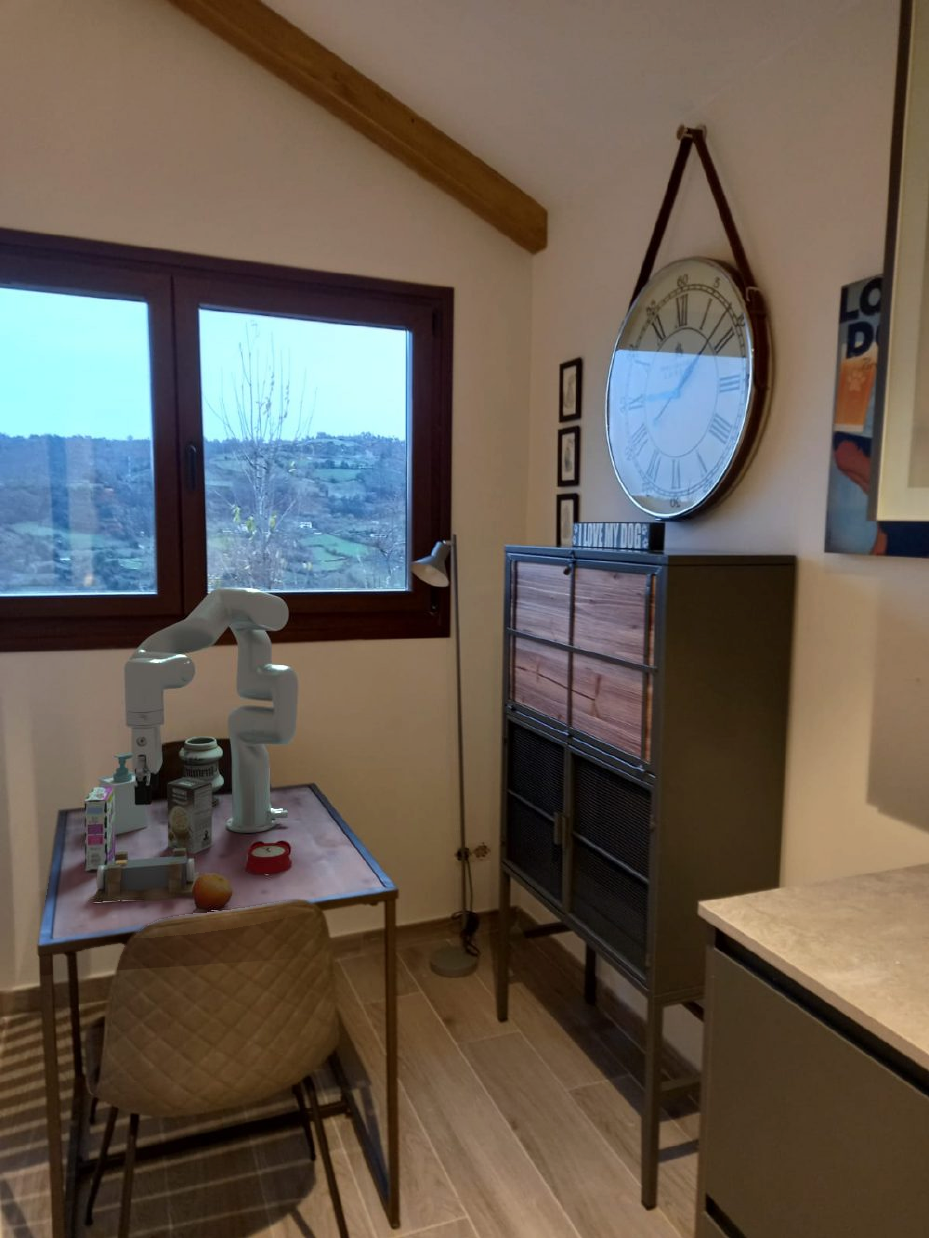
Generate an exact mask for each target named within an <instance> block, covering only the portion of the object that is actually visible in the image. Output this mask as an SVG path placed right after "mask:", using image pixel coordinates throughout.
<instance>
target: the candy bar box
mask: <svg viewBox="0 0 929 1238" xmlns="http://www.w3.org/2000/svg"><path fill="white" fill-rule="evenodd" d="M92 788H93V789H92V790H91V791H90V793H89V794H88V795H87V796H86V798H85V799H84V861H85V862H84V865H85V867H84V869H85V870H84V871H85V872H87V873H89V872H97V870H98V866H102V865H106V864H107V862H108V861H113V859H114V854H115V852H116V835H115V787H99V786H98V787H92Z"/></svg>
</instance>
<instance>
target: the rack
mask: <svg viewBox="0 0 929 1238" xmlns="http://www.w3.org/2000/svg"><path fill="white" fill-rule="evenodd" d="M128 854H129V853H128V850H126V851H115V854H114V856H113V859H114V860H113V861H117V860H129V859H128V858H129V857H128V856H129V855H128ZM172 854H173V856H186V855H187V852H186V848H173V851H172ZM173 856H172V857H173ZM200 873H201V872H194V882H188V881H187V882H186V886H182V861H172V862H169V887H168V888H156V889H144V890H132V891H122V879H121V865H109V866H108V868H107V876H108V893H105V889H99V890H98V889H97V890H96V892H95V894H94V896H93V898H92V901H93V902H103V901H118V900H120V901H122V900H143V901H152V900H153V901H155V900H156V901H157V900H168V899H171V900H172V899H185V898H193V895H192V889H193V886H194V884H195V882H196V880H197V879H198V878H199V877H200V876H201V875H200ZM93 902H92V903H93Z"/></svg>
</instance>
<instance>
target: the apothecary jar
mask: <svg viewBox="0 0 929 1238" xmlns="http://www.w3.org/2000/svg"><path fill="white" fill-rule="evenodd" d="M222 757H223V749H222V748H221V747H220V746H219V745H218V743H217V739H216V738H215V737H213V736H194V737H191V738H188V739H186V740H185V741H184V746H183V747H182V748H181V750H180V751H179V752H178V758H179V760H180V761H181V762H182V765H183V767H182V768H183V769H182V771H183V772H182V773H183V774H182V775H183V776H182V777H181V778H183V777H190V778H194V779H198V780H202V781H206V782H211V783H212V794H213V793H216V792H217V791H218V790H220V789H221V788H222V787H223V785H224V777H223V776H222V775H221V774H220V770H219V760H220V759H221V758H222ZM219 800H220V799H219V798H218V797H217V796H215V795H212V807H213V806H215V804H216V805H218V804H219V803H220V801H219ZM218 802H219V803H218Z"/></svg>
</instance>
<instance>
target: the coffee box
mask: <svg viewBox="0 0 929 1238" xmlns="http://www.w3.org/2000/svg"><path fill="white" fill-rule="evenodd" d="M182 777H183V776H182ZM182 777H181V778H178V779H176V780H172V781H168V782H167V783H166V786H167V787H166V788H167V789H166V790H167V791H166V792H167V794H166V795H167V796H166V797H167V799H166V800H167V801H166V803H167V804H166V805H167V807H166V808H167V847H168V848H171V849H175V848H186V853H190V854H193V855H194V854H196V853H199V852H202V851H204V850H206V849H208V848H211V847H212V846H213V806H212V796H213V793H212V783H211V782H206V781H202V780H198V779H194V778H190V777H183V778H182Z"/></svg>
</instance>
